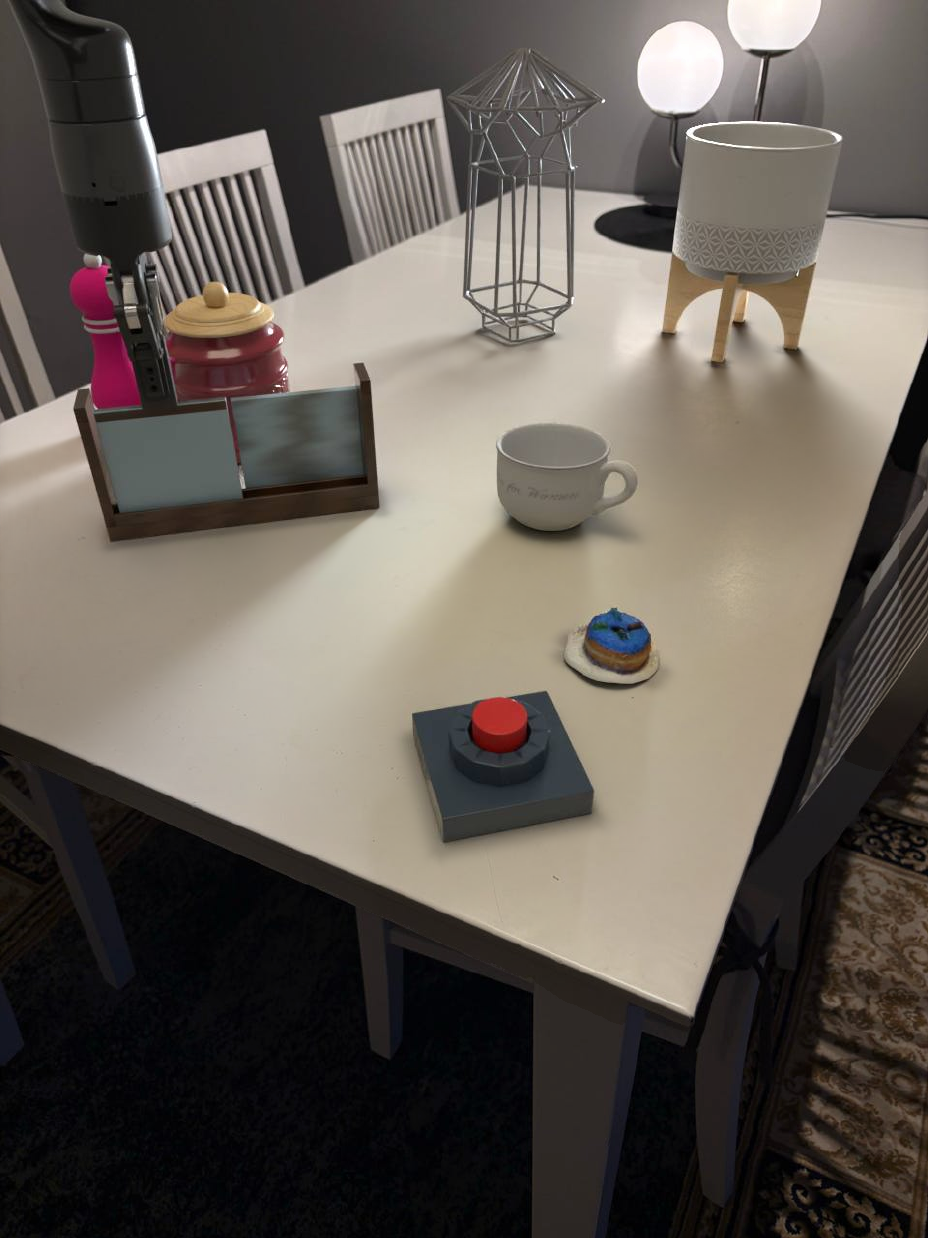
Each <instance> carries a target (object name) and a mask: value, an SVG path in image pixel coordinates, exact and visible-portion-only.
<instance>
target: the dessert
mask: <svg viewBox="0 0 928 1238" xmlns="http://www.w3.org/2000/svg"><path fill="white" fill-rule="evenodd" d="M566 641H567V642H566V644H565V647H564V649H563V659H564V661H565V662H566V663H567V664H568V665H569V666H570V667H572V668H573V669H575V670H576V671H578V672H579V673H580V674H582V675H583V676H584V677H587V678H588V679H591V680H594V681H596V682H605V683H614V684H623V685H624V684H627V685H629V684H635V683H639V682H641V681H646V680H648V679H650V678H651V677H652V676H653V675H655V674H656V672H658V671H657V670H658V669H659V667H660V654H659V649H658V646H657V645H656V644H655V642H654V641H653V640H652V634H651V633H650V631H649V629H648V628H647V627H646V625H645V623H644V622H643V621H642V620H640V618H638V617H636V616H634V615H630V614H628V613H626V612H621V611H619V610H618V607H617V606H616V607H610V609H609V610H608V611H607V612H603V613H600V614H597V615H594V616H593V617H592V619H591V620H590V621H589V622H588V624H587V623H585V624H581V625H580V626H577V628H576V629H575V630H574V629H572V630H571V631H570V632H568V635H567V639H566Z"/></svg>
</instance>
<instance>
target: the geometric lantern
mask: <svg viewBox="0 0 928 1238" xmlns="http://www.w3.org/2000/svg"><path fill="white" fill-rule="evenodd" d="M523 61H524V64H523ZM522 64H523V70H522V75H521V80H520V85H519V89H516V90H515V88H516V84H517V80H518V77H519V73H520V70H521V68H522ZM500 68H501V69H500ZM499 69H500V70H499ZM497 70H499V71H498V72H497V73H496V74H495V75H494V76H493V77H492V79H490V81H489V82H488V83H487V84H486V86H485V87H483V89H482V90H481V92H479V93H478V95H467V94H462V93H463V92H465V91H466V90H468V89H470V88H471V87H473V86H474V85H476V84H477V83H479V82H481V81H482V80H483V79H485V78H486V77H488V76H489V75H491V74H493V73H494V72H496V71H497ZM526 74H527V75H526ZM509 75H510V77H509V80H508V81H507V85H506V87H505V89H504V92H503V95H502V97H501V98H494V96H495V95H496V93H498V90H499V89H500V88H501V86H502V85H503V83H505V81H506V79H507V77H508V76H509ZM526 76H527V80H528V82H529V86H526V87H523V85H524V81H525V77H526ZM544 76H545V77H544ZM545 78H546V79H547V81H548V82H549V84H550V85H551V86H552V87H553V89H554V90H555V91H556V92H553V91H551V88H550V86H549V85H548V83H547V81H546V79H545ZM534 79H535V80H534ZM561 80H562V81H563V82H565V83H566V84H568V85H569V86H570V87H572V88H573V89H575V90H576V91H577V92H579V93H580V94H582V95H583V96H574V95H573V93H572V92H571V91H570V90H569V89H568V88H567V87H566V86H565V85H564V84H563V83H562V81H561ZM535 81H536V83H537V86H538V88H536V84H535ZM490 89H491V90H490ZM489 90H490V91H489ZM488 91H489V92H488ZM537 92H541V94H542V95H543V97H544V98H545V101H546V102H547V104H548V105H541V106H540V105H539V100H538V95H537V94H538V93H537ZM486 93H488V94H487V96H486ZM530 93H531V96H532V101H533V106H521V105H522V103H523V102H524V101H525V100H526V99H527V97H528V96H529V94H530ZM515 96H517V98H516V103H515V104H514V106H513V105H512V107H511V103H512V102H513V97H515ZM445 100H446V102H447V103H448V104H449V106H450V107H451V109H452V111H454V113H455V114H456V116H457V117H458V119H459V120H460V122H461V123H462V124H463V126H464V127H465V129H466V131H467V132H468V133H469V134H470V137H469V152H468V153H469V156H468V157H469V158H468V165H467V181H466V182H467V185H466V211H465V213H466V214H465V232H464V233H465V237H464V259H463V260H464V261H463V281H462V282H463V286H462V298H463V299H465V300H466V301H468V302H469V303H470V304H471V305H472V306H473V307H474V308H475V309H476V310H477V311H478V312H479V314H481V328H483V329H484V330H486V331H488V332H490V333H492V334H494V335H496V336H497V337H499V338H501V339H503V340H505V341H507V342H509V343H521V342H525V341H531V340H534V339H539V338H542V337H547V336H550V335H556V329H555V324H556V319H557V318H558V317H560V316H561V315H563V314H564V313H565V312H566V311H568V310H569V309H571V308H572V307H573V304H574V300H575V296H574V294H575V290H574V289H575V209H576V208H575V206H576V205H575V204H576V203H575V202H576V200H575V198H576V197H575V196H576V195H575V194H576V170H577V169H578V166H577V165H576V164H572V150H571V149H572V148H571V147H572V146H571V129H572V128H573V127H575V128H576V127H578V124H579V123H578V122H579V120H580V119H581V118H582V117H583V116H585V114H587V113H588V112H590V110H592V109H593V108H594V107H596V106H597V105H598V104H604V103H605V102H606V100H605V98H603V97H602V96H601V95H599V94H598V93H597V92H595V91H593V90H592V89H591V88H589V87H588V86H587V85H586V84H584V83H582V82H581V81H580V80H578V79H577V77H575V76H573V75H572V74H570V73H569V72H567V71H566V70H565V69H563V68H562V67H561V66H559V65H558V64H557V63H555V62H554V61H552V60H551V59H550V58H548V57H547V56H546V55H544V54H543V53H542V52H540V51H538V50H537V49H536V48H534V47H532V48H530V47H520V48H517V49H515V50H514V51H512V52H511V53H509V54H508V55H506V56H505V57H503V58H502V59H501V60H499V61H498V62H496V63H495V64H494V65H492V66H490V67H489V68H487V69H486V70H485V71H483V72H482V73H480V74H478V75H477V76H476V77H474V78H473V79H471V80H470V81H468V82H467V83H466V84H464V85H463V86H461V87H459V88H458V89H456V90H455V91H454V92H452V93H450V94H449V95H448V96H446V98H445ZM557 100H558V101H560V102H563V103H564V104H565V107H561V106H560V105H559V103H558V101H557ZM468 101H471V103H469V102H468ZM479 102H481V104H480V105H479V106H477V104H478V103H479ZM455 103H456V104H457V105H460V106H463V108H465V109H466V115H467V120H466V118H465V117H464V115H463V114H462V112H461V111H460V109H459V108H458V107H457V105H456V104H455ZM494 104H495V105H496V104H499V105H498V106H492V105H494ZM486 106H488V107H486ZM580 109H581V110H580ZM575 110H576V112H575V115H574V116H573V117H572V118H570V119H569V120H567V117H568V113H569V112H572V111H575ZM471 112H472V113H473V114H474V115H476V120H477V126H478V129H474V128H473V127H472V116H471V115H472V114H471ZM502 112H503V113H505V118H499V115H500V114H501V113H502ZM543 112H553V115H554V117H555V118H556V121H557V122H558V123H557V124H556V125H555V128H554V130H553V131H549V132H545V133H544V117H543ZM486 113H487V115H486ZM521 113H535V116H536V118H539V129H540V133H539V132H538V131H537V130H536V129H535V128H534V127H533V126H532V125H531V124H530V123H529V122H528V121H527V120H526V119H525V117H524V116H522V115H521ZM513 115H514V117H515V118H516V119H517V120H518V121H519V122H520V123H521V124H522V125H523V126H524V127H525V128H526V129H527V131H529V133H531V134H532V135H533V136H534V138H533V139H532V141H531V142H530V144H529V145H528V147H527V148H525V147H524V145H523V144H522V142H521V140H520V139H519V137H518V135H517V134H516V132H515V130H514V129H513V127H512V126H511V124H510V122H509V120H511V118H512V117H513ZM481 119H482V120H484V121H485V123H484V125H483V126H482V122H481ZM493 123H495V124H506V125H507V127H508V128H509V130H510V131H511V133H512V135H513V136H514V138H515V139H516V141H517V143H518V144H519V147H520V148H521V149H522V151H523V154H522V155H516V156H509V157H508V156H507V157H501V158H498V157H497V154H496V152H495V150H494V148H493V145H492V142H491V140H490V138H489V136H488V131H489V129H490V126H491V125H492V124H493ZM565 130H567V141H566V137H565V132H564V131H565ZM473 135H482V136H481V140H480V144H479V147H478V151H477V155H476V158H475V161H473V162H472V157H473V156H472V154H473V138H474V137H473ZM558 135H559V137H560V141H561V145H562V150H563V154H564V158H565V162H563V161H560V160H556V159H552V158H549V157H545V155H546V153H547V152H548V150H549V148H550V146H551V144H552V142H553V141H554V139H555V138H556V136H558ZM547 138H548V140H547V143H546V144H545V146H544V148H543V150H542V152H541V153H540V155H531V154H530V155H529V154H528V153H529V151H530V150H531V148H532V147H533V146H534V144H535V143H536V141H537V140H544V139H547ZM485 143H486V146H487V148H488V151H489V152H490V154H491V157H492V158H491V159H485V160H481V157H482V153H483V149H484V146H485ZM524 159H525V171H524V174H517V175H514V174H515V172H516V171H517V169H518V168H519V166H520V164H521V163H522V161H523V160H524ZM514 160H518V161H517V163H516V165H515V166H514V167H513V169H512V171H511V172H510V174H505V172H504V170H503V168H502V166H501V164H500V162H507V161H514ZM530 161H537V172H534V173H530V164H531V162H530ZM542 161H545V162H549V163H553V164H556V165H560V166H564V167H566V169H560V170H552V171H542ZM491 163H494V164H495V166H496V168H497V170H498V172H496V171H493V170H490V169H487V168H485V167H482V166H479V165H483V164H491ZM479 171H482V172H483V173H487V174H489V175H493V176H496V177H498V191H497V192H498V193H497V217H496V223H497V224H496V245H495V266H494V267H495V269H494V270H495V271H494V272H495V273H494V284H491V285H484V286H480V287H475V288H471V286H472V272H473V271H472V269H473V253H474V239H475V223H476V206H477V193H478V175H479ZM560 174H565V175H564V176H565V181H564V182H565V231H566V232H565V233H566V234H565V235H566V236H565V237H566V238H565V239H566V286H567V289H566V290H567V291H566V292H567V293H566V292H564V291H562V290H559V289H557V288H554V287H552V286H551V285H548V284H546V283H544V282H541V257H542V255H541V254H542V253H541V250H542V249H541V246H542V244H541V243H542V228H541V227H542V226H541V225H542V176H551V175H560ZM472 176H473V177H472ZM535 177H537V178H536V179H537V182H536V184H537V187H536V189H537V196H536V197H537V198H536V207H537V208H536V280H533V279H532V280H530V279H526V278H525V279H524V278H523V276H524V263H525V248H526V246H525V245H526V232H527V215H528V213H527V212H528V199H529V182H530V181H529V179H530V178H535ZM472 178H473V180H472ZM516 179H524V186H523V187H524V188H523V189H524V190H523V206H522V223H521V237H520V238H521V241H520V243H521V244H520V256H519V257H520V258H519V269H518V270H519V271H518V279H517V209H516V208H517V206H516V205H517V204H516V203H517V202H516V201H517V200H516V198H517V197H516V195H517V194H516V192H517V191H516ZM504 180H507V181H508V180H509V181H510V185H511V186H510V187H511V190H510V191H511V199H510V200H511V249H512V250H511V262H512V263H511V265H512V268H511V269H512V272H511V273H512V280H510V281H506V282H505V281H504V282H500V262H501V240H502V239H501V237H502V216H503V215H502V214H503V183H504V182H503V181H504ZM472 181H473V183H472ZM471 197H472V199H471ZM518 284H519V300H518V292H517V290H518V289H517V288H518V287H517V286H518ZM523 284H526V285H534V288H533V290H532V292H531V293H530V295H529V297H528V298H527V300H526V302H523ZM508 286H512V303H510V304H507V305H502V306H499V289H500V288H503V287H508ZM538 287H541V288H544V289H545V290H548V291H550V292H553V293H554V294H557V295H559V296H561V297H563V298H566V299H567V301H566V302H565V303H563V304H562V303H561V304H556V305H551V306H550V305H549V306H544V307H538V306H536V305H533V304H530V301H531V300H532V298H533V296H535V292H536V291H537V289H538ZM493 289H494V292H493V293H494V294H493V295H494V296H493V308H491V309H490V307H488V306H486V305H484V304H482V303H481V302H479V301H478V300H477V299H476V298H475V296H474V295H473V293H477V292H483V291H488V290H493ZM521 306H524V310H522V311H521ZM508 308H513V309H512V312H498V311H501V310H504V309H508ZM529 308H531V309H529ZM556 310H557V311H556ZM551 311H556V312H555V313H554V312H551ZM538 313H544V314H546V315H549V316H551V317H547V318H543V319H542V318H541V319H537V318H535V317H533V316H530V315H534V314H538ZM486 318H488V319H489V320H488V321H486ZM519 318H526V319H529V320H531V321H529V322H524V323H520V324H519ZM512 319H515V321H514V325H511V324H509V322H508V321H509V320H512ZM548 321H549V322H550V321H551V325H549V324H547V323H545V322H548ZM495 323H498V324H500V325H502V326H504V327H506V328H508V337H507V336H505V335H503V334H501V333H500V332H498V331H496V330H493V329H492V328H490V327H488V326H486V325H491V324H495ZM536 324H539V325H541V326H543V327H545V328H547V329H549V330H551V331H549V332H544V333H540V334H535V335H532V336H528V337H523V338H520V328H522V327H526V326H527V327H528V326H532V325H536ZM512 329H515V331H516V333H515V334H516V335H515V339H512Z"/></svg>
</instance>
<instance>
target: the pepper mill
mask: <svg viewBox="0 0 928 1238" xmlns="http://www.w3.org/2000/svg"><path fill="white" fill-rule="evenodd" d="M83 263H84V265H85V266H84V267H83V268H80V269H79V270H78V271H76V272H75V273H74V274H73V275H72V278H71V281H70V285H69V293H70V298H71V302H72V303H73V304H74V306H75V307H76V308H77V309H78V310H79V311H80V312H82V313H83V314H82V315H81V320H82V322H83V323H84V324H83V329H84V330H85V331H87V332H88V333H89V336H90V338H91V341H92V345H93V352H94V353H93V354H94V362H93V369H92V375H91V380H90V393H91V396H92V400H93V404H94V408H95V409H106V408H117V407H127V406H137V405H141V400H140V396H139V392H138V387H137V383H136V379H135V374H134V370H133V366H132V362H131V361H130V359H129V357H128V356H127V350H126V347H125V344H124V341H123V338H122V335H121V332H120V330H119V326H118V324H117V321H116V317H114V315H113V311H114V304H113V301H112V300H111V299H110V298H109V296H108V292H107V288H106V283H105V276H108V273H107V268H108V267H110V266H108V265H102V263H103V260H102V256H101V255H98V256H92V255H88V254H85V253H84V255H83Z"/></svg>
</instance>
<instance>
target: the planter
mask: <svg viewBox="0 0 928 1238" xmlns="http://www.w3.org/2000/svg"><path fill="white" fill-rule="evenodd" d="M843 142H844V137H843V136H842V134H840V133H838V132H835V131H833V130H829V129H825V128H821V127H815V126H810V125H802V124H794V123H783V122H766V121H765V122H763V121H734V122H733V121H731V122H718V123H707V124H703V125H702V124H701V125H698V126H695V127H691V128H689V129H688V130H687V131H686V138H685V147H684V155H683V163H682V168H681V169H682V170H681V177H680V186H679V194H678V200H677V201H678V202H677V210H676V217H675V225H674V226H675V227H674V233H673V242H672V251H671V259H670V265H669V274H668V280H667V281H668V282H667V288H666V289H667V290H666V297H665V304H664V305H665V306H664V313H663V321H662V329H661V332H662V333H666V334H667V333H668V334H676V332H677V331H678V326H679V322H680V319H681V317H682V315H683V314H684V311H685V310H686V309H687V307H689V305H690V304H691V303H692V302H694V301H695V300H696V299H697V298H699V297H701V296H702V295H705V294H707V293H710V292H713V291H716V290H721V297H720V303H719V308H718V314H717V315H718V316H717V321H716V327H715V332H714V340H713V345H712V352H711V356H710V357H711V358H710V361H711V362H717V363H724V360H725V359H726V354H727V351H728V350H727V349H728V344H729V339H730V336H731V335H730V334H731V329H732V326H733V322H734V323H735V322H736V323H744V321H745V319H746V314H747V309H748V303H749V299H750V298H749V297H750V293H753V294H755V295H757V296H759V297H761V298H762V299H764V301H766V302H768V304H770V306H771V307H772V308H773V309H774V311H775V312H776V314H777V316H778V317H779V319H780V323H781V325H782V331H783V344H782V348H783V349H790V350H791V349H792V350H797V349H798V346H799V343H800V338H801V334H802V329H803V324H804V320H805V315H806V311H807V307H808V302H809V298H810V293H811V290H812V289H811V288H812V284H813V279H814V275H815V270H816V265H817V262H816V261H817V260H818V256H819V251H820V248H821V243H822V239H823V238H822V237H823V233H824V228H825V224H826V220H827V219H826V218H827V214H828V210H829V205H830V201H831V195H832V191H833V188H834V182H835V177H836V173H837V169H838V164H839V160H840V154H841V152H842V151H841V150H842V146H843Z"/></svg>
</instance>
